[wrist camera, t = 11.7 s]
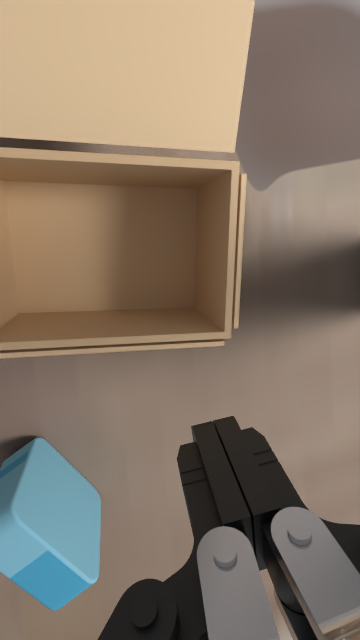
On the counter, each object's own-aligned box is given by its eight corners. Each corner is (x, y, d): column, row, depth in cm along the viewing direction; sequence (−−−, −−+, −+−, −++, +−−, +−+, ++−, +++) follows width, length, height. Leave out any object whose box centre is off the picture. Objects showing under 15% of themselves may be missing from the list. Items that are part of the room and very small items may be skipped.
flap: (232, 152, 25) (256, -36, 20) (234, 152, 24) (260, -40, 19) (-47, 133, 21) (-104, -104, 16) (-50, 133, 21) (-109, -110, 16)
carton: (207, 184, 36) (248, 162, 25) (203, 316, 39) (238, 345, 29) (-10, 174, 31) (-69, 142, 21) (8, 324, 35) (-35, 361, 25)
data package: (5, 454, 38) (-38, 545, 27) (37, 431, 38) (8, 512, 27) (73, 515, 42) (59, 619, 31) (102, 494, 42) (99, 589, 31)
